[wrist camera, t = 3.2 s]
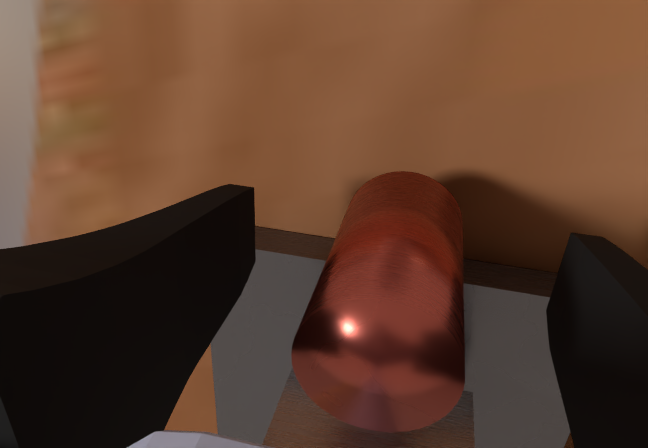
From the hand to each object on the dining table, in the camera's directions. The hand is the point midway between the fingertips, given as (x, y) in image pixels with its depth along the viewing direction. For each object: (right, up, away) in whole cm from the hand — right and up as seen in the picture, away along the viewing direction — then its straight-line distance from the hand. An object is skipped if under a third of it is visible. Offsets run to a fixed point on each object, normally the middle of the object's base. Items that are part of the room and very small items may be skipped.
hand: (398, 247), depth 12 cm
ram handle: (0, -2, +2) cm, 3 cm away
